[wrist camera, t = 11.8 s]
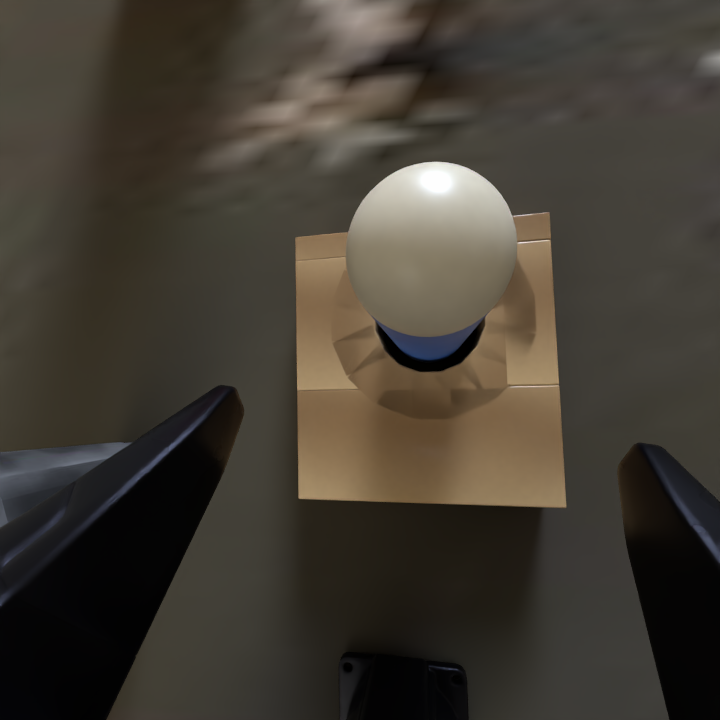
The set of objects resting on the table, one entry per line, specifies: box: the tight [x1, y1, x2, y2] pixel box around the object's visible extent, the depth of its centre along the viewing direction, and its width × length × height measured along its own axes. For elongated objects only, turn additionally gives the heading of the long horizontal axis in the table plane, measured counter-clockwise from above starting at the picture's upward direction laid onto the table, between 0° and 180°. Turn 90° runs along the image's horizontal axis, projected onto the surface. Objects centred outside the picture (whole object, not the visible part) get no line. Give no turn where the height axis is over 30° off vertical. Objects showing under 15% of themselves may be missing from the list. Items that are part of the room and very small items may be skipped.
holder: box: [295, 213, 566, 508], centre depth 19 cm, size 13×12×3 cm
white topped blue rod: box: [346, 162, 517, 363], centre depth 14 cm, size 4×4×14 cm
